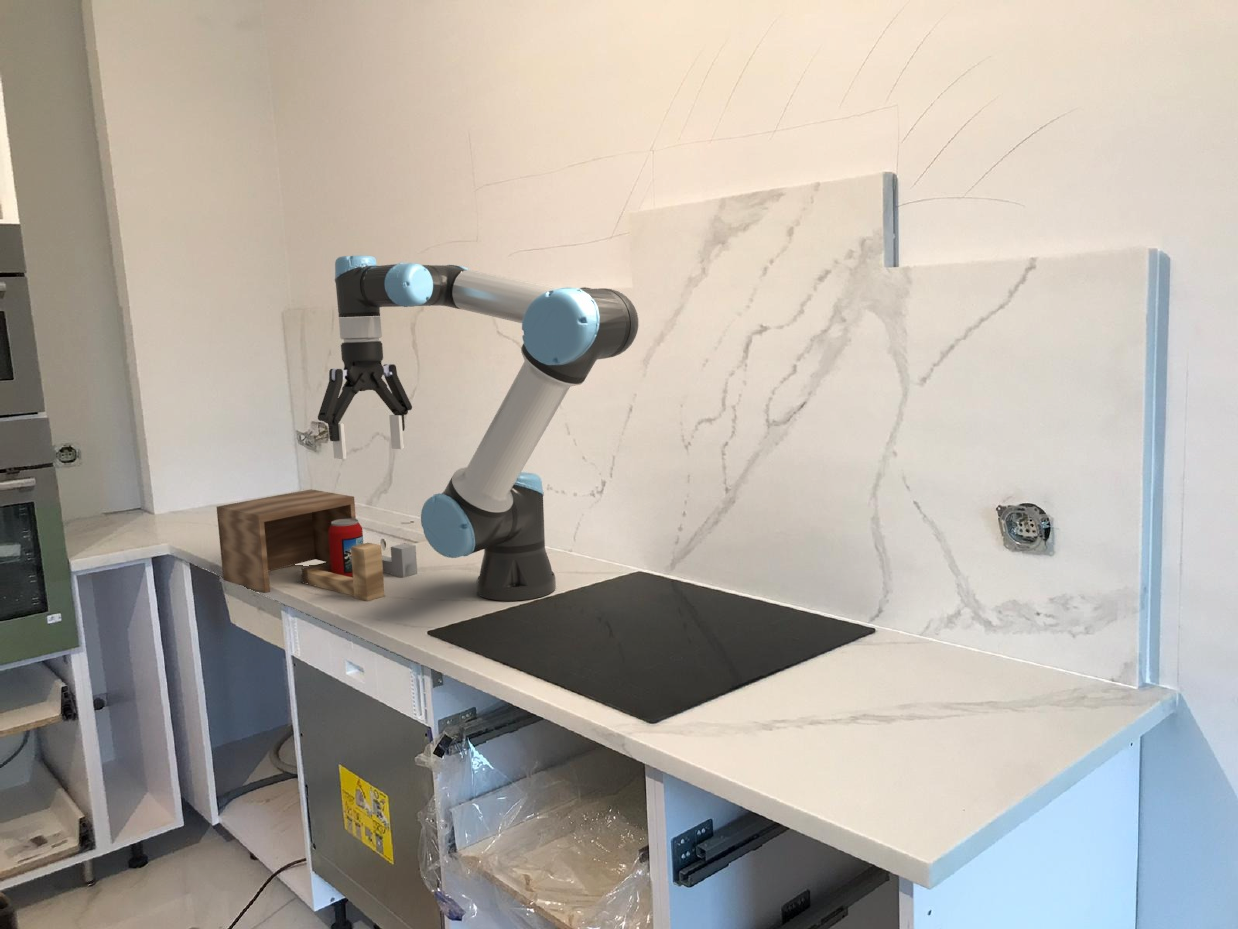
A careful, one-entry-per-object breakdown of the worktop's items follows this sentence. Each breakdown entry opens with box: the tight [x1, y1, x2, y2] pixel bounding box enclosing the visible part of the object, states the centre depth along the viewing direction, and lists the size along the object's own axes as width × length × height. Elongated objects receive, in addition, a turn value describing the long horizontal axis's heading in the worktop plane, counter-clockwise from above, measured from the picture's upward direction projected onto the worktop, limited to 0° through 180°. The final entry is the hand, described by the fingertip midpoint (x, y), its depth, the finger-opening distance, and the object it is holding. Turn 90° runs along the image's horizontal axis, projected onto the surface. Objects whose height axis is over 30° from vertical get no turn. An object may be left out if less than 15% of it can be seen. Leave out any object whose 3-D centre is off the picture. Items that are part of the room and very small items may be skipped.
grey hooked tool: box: [382, 542, 418, 578], centre depth 209 cm, size 14×4×6 cm, turn 50°
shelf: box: [216, 488, 357, 594], centre depth 208 cm, size 16×22×16 cm
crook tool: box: [300, 542, 386, 602], centre depth 198 cm, size 22×10×10 cm, turn 52°
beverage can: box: [328, 518, 365, 578], centre depth 203 cm, size 7×7×12 cm
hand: (369, 453), depth 189 cm, fingers open, 13 cm apart
